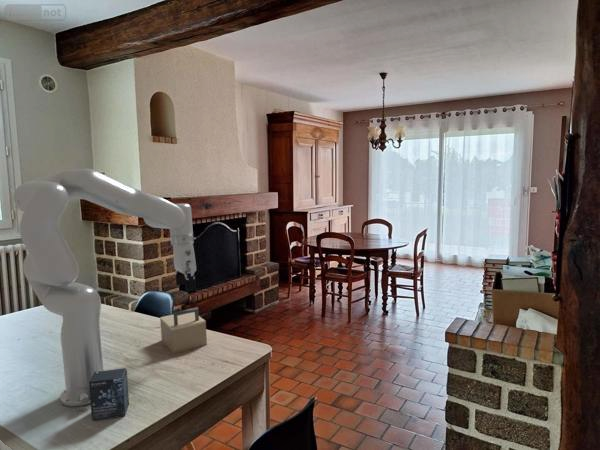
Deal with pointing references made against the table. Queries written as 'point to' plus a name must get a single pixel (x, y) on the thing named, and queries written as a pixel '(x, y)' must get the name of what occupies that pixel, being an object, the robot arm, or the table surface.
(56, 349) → the table surface
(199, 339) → the tan open container
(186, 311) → the door
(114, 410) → the box
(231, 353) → the table surface
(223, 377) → the table surface
